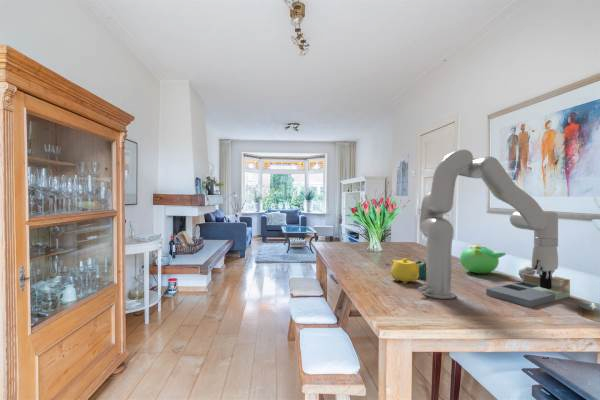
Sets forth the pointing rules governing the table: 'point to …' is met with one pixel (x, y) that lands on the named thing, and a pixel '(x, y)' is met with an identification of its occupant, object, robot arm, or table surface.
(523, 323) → the table surface
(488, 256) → the green rounded piece
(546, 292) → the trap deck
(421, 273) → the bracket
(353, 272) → the table surface
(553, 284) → the block
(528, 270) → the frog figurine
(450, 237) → the robot arm
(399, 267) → the teapot
